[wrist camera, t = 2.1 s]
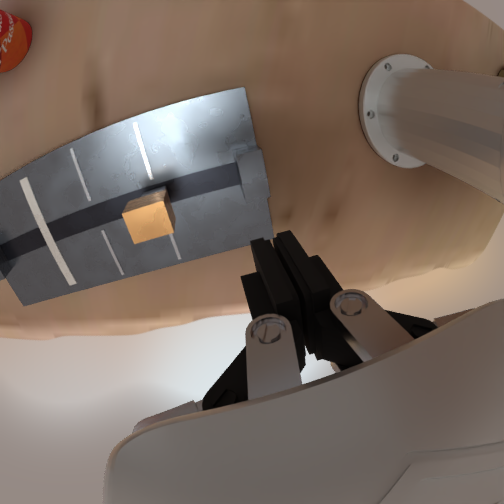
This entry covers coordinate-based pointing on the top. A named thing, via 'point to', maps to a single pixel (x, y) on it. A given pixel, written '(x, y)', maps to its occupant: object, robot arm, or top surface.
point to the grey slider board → (132, 187)
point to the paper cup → (13, 40)
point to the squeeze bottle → (501, 73)
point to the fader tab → (150, 215)
